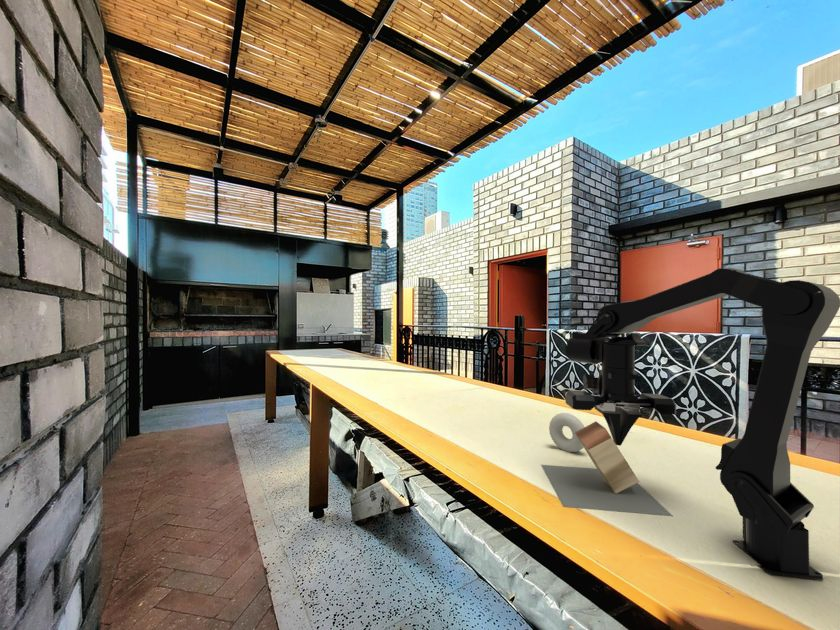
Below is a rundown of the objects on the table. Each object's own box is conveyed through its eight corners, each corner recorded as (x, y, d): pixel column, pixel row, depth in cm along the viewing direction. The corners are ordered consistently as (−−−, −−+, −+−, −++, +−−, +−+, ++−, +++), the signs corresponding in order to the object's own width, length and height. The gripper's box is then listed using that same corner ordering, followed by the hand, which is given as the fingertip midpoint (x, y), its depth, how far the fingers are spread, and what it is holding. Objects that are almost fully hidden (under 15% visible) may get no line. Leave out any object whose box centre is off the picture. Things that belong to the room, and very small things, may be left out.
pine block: (639, 481, 64) (605, 428, 65) (615, 493, 64) (582, 440, 66) (627, 470, 69) (595, 421, 70) (605, 481, 69) (574, 432, 70)
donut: (546, 447, 90) (546, 409, 90) (553, 444, 92) (553, 408, 92) (582, 459, 82) (582, 418, 82) (589, 456, 84) (589, 416, 84)
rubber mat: (673, 519, 57) (673, 516, 57) (563, 509, 60) (563, 506, 60) (624, 472, 75) (624, 470, 75) (540, 466, 77) (540, 464, 77)
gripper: (646, 363, 74) (646, 434, 74) (558, 361, 77) (558, 429, 76) (678, 370, 63) (678, 454, 63) (573, 367, 66) (573, 447, 65)
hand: (617, 444), depth 67 cm, fingers closed
